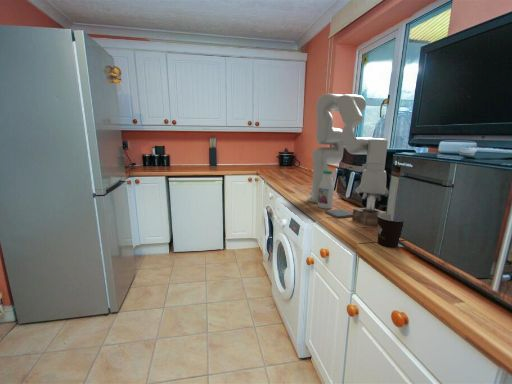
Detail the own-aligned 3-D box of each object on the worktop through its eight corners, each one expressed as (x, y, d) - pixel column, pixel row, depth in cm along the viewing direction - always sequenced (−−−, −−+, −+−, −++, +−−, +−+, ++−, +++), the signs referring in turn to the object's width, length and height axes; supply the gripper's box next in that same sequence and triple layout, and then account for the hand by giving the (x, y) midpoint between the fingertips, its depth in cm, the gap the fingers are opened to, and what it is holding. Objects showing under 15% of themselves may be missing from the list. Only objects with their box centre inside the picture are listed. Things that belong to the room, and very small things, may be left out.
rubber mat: (325, 212, 130) (325, 210, 130) (341, 211, 133) (341, 209, 133) (337, 218, 121) (337, 216, 121) (354, 216, 124) (355, 214, 124)
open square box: (352, 219, 120) (353, 208, 119) (369, 217, 123) (370, 207, 122) (368, 225, 111) (369, 214, 110) (386, 223, 114) (387, 213, 113)
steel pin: (361, 220, 118) (364, 192, 116) (368, 219, 120) (371, 191, 117) (368, 223, 115) (372, 194, 112) (376, 222, 116) (379, 193, 113)
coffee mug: (402, 251, 86) (406, 222, 84) (374, 246, 90) (377, 218, 87) (399, 239, 96) (403, 213, 94) (374, 235, 100) (377, 210, 98)
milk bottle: (327, 205, 145) (329, 169, 141) (335, 208, 138) (338, 171, 134) (314, 205, 143) (317, 169, 139) (322, 209, 136) (325, 171, 132)
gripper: (354, 166, 112) (349, 207, 116) (397, 169, 106) (391, 212, 110) (354, 165, 119) (350, 203, 123) (395, 167, 112) (390, 208, 116)
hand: (370, 207), depth 116 cm, fingers closed on steel pin, 4 cm apart
